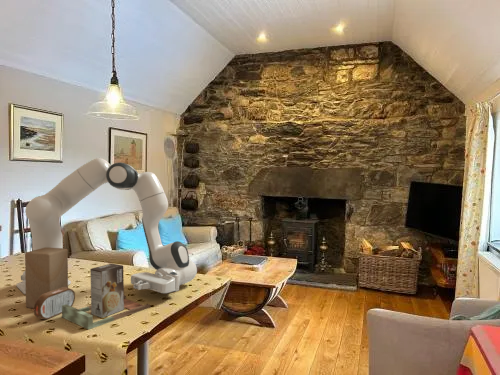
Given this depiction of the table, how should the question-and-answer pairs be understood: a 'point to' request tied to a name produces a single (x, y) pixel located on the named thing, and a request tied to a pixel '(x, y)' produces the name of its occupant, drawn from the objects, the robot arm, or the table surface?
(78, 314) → the brown low open piece
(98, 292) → the coffee box
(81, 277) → the table surface
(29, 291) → the wooden block
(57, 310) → the tin
